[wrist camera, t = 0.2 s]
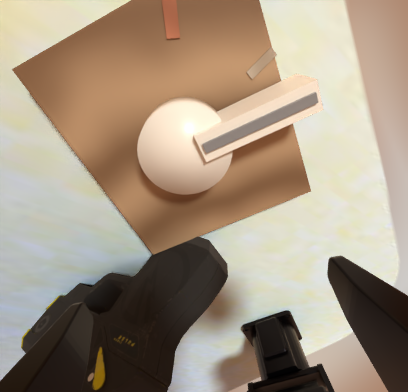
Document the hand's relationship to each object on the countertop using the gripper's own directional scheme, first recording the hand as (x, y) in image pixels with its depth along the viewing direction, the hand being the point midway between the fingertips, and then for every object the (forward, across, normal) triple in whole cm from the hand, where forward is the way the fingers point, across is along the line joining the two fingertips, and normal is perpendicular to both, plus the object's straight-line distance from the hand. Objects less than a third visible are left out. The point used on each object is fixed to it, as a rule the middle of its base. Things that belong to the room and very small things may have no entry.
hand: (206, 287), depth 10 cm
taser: (+14, +10, +12) cm, 21 cm away
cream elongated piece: (+12, -2, -2) cm, 12 cm away
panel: (+14, 0, -2) cm, 14 cm away
